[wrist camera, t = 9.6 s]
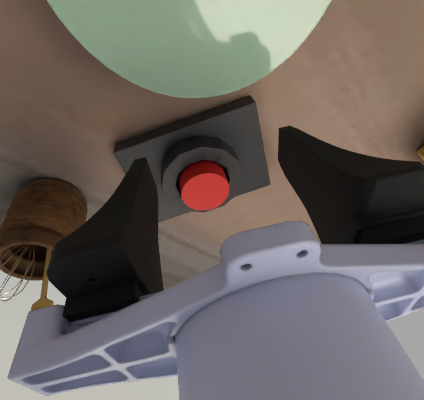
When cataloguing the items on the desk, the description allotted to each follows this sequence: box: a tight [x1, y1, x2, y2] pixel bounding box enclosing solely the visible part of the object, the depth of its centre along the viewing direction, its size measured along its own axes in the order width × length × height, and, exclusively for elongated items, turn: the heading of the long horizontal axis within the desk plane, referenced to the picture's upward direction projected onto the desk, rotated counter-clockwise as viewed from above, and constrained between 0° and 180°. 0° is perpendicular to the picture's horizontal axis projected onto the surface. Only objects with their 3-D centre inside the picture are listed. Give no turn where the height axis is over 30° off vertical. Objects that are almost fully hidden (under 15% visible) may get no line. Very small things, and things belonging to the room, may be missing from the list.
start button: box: [180, 161, 229, 210], centre depth 23 cm, size 4×4×2 cm
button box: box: [114, 96, 270, 222], centre depth 25 cm, size 12×9×3 cm
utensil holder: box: [0, 179, 87, 310], centre depth 22 cm, size 6×6×12 cm
